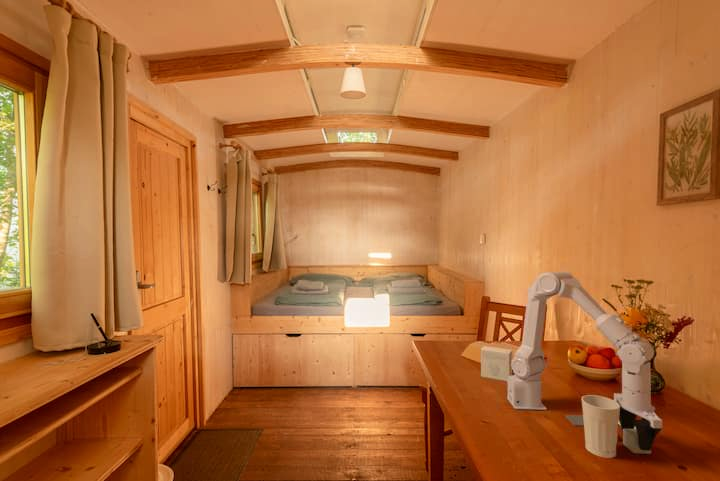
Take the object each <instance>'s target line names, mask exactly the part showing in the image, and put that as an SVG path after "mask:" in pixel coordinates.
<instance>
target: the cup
mask: <svg viewBox="0 0 720 481" xmlns="http://www.w3.org/2000/svg"><path fill="white" fill-rule="evenodd" d="M580 399H581V407H582V415H583V419H584V426H583V428H584V442H585V446H584V447H585V449H586V450H587V451H588V452H590V453H591V454H593V455H595V456H598V457H600V458H605V459H613V458H615V457H616V456H617V442H618V432H619V431H618V429H619V426H618V420H619V413H620V405H619V402H616V401H614V399H611V398H609V397H606V396H602V395H595V394H586V395H583V396H581V398H580Z"/></svg>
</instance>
